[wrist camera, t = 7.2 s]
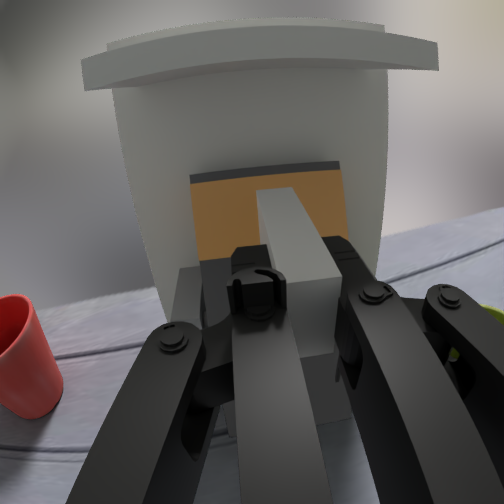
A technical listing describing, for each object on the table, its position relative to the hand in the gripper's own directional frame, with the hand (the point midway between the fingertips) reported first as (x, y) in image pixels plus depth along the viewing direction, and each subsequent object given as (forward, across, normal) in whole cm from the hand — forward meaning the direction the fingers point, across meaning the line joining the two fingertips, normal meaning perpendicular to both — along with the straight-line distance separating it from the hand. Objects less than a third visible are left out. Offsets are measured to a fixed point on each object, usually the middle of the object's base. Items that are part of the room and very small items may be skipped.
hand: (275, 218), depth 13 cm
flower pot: (+4, -26, -19) cm, 32 cm away
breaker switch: (-2, 0, -14) cm, 14 cm away
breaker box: (+5, 0, -18) cm, 19 cm away
